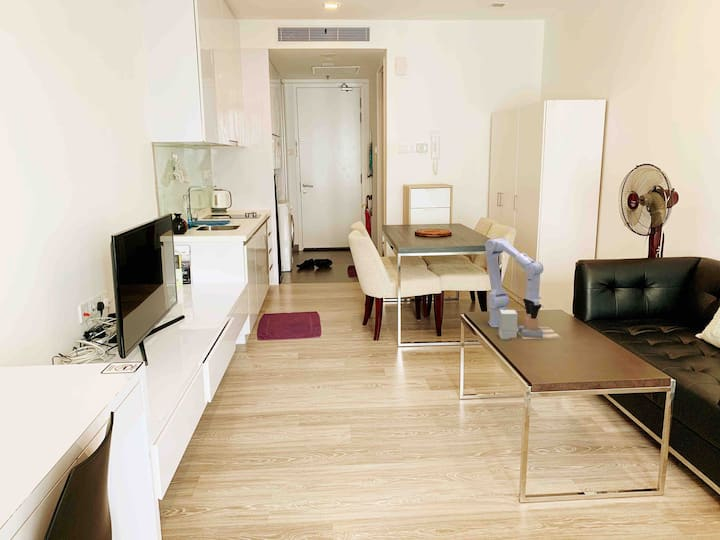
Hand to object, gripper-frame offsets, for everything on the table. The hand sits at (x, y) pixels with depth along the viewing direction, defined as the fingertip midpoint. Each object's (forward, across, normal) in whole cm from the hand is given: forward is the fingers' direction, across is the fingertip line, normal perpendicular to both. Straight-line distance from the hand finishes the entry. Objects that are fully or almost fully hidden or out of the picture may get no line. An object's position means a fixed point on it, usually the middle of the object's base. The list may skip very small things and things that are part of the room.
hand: (531, 316), depth 261 cm
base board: (+10, +3, -4) cm, 11 cm away
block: (+6, 0, 0) cm, 6 cm away
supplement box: (+10, -2, +11) cm, 15 cm away
